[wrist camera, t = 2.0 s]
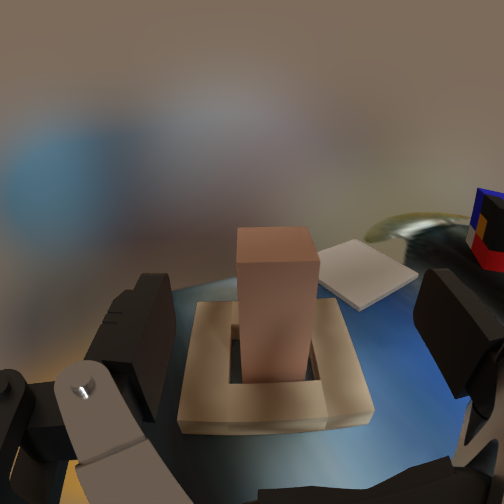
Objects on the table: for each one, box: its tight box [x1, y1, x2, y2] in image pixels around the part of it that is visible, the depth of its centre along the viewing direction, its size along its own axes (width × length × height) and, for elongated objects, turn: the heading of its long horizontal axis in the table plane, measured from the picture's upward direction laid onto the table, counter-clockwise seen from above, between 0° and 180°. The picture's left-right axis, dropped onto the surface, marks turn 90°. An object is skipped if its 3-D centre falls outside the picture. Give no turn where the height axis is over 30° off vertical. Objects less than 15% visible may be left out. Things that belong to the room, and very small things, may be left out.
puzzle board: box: [177, 298, 375, 435], centre depth 27 cm, size 14×14×2 cm
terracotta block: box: [236, 227, 320, 384], centre depth 24 cm, size 5×5×12 cm
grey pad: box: [317, 239, 419, 312], centre depth 40 cm, size 12×12×1 cm
